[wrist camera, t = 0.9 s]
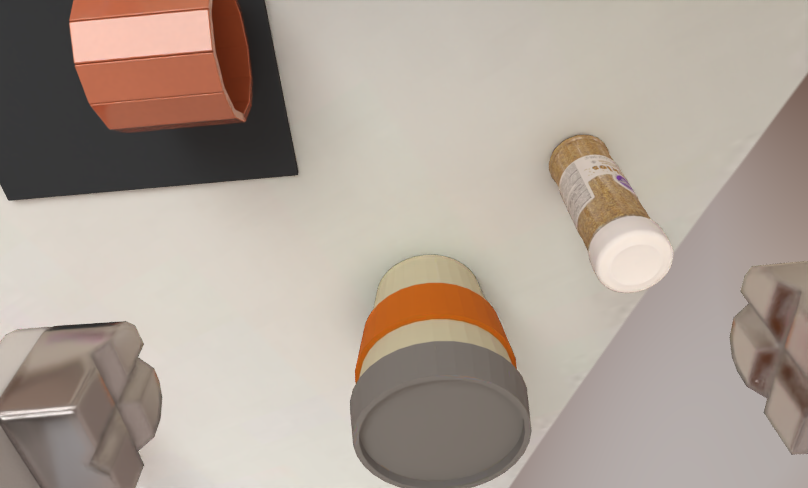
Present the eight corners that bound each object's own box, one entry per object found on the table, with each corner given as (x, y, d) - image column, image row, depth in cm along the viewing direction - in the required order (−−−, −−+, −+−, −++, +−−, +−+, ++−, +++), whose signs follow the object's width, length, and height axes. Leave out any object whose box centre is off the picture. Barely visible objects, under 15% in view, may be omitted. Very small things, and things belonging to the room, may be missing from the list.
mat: (-156, -138, 36) (-161, -138, 36) (229, -176, 36) (228, -176, 35) (10, 198, 48) (8, 200, 48) (298, 172, 48) (298, 175, 48)
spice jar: (619, 144, 48) (692, 246, 36) (587, 193, 50) (647, 304, 39) (565, 124, 46) (624, 223, 35) (536, 176, 49) (582, 284, 38)
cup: (109, -31, 39) (50, 4, 32) (230, -42, 39) (197, -10, 32) (151, 100, 44) (108, 155, 37) (259, 90, 44) (236, 144, 37)
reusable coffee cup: (325, 289, 54) (308, 431, 42) (443, 209, 50) (464, 340, 38) (415, 370, 60) (424, 515, 48) (528, 304, 56) (570, 444, 44)
